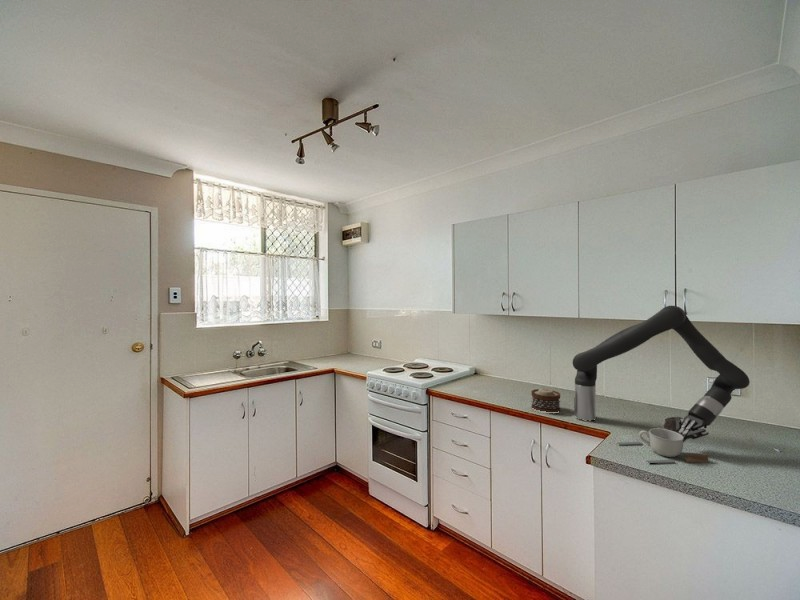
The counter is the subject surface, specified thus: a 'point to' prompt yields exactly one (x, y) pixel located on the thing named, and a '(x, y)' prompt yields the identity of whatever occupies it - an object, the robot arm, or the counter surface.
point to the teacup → (664, 441)
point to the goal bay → (651, 460)
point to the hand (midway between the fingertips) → (677, 442)
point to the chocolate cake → (545, 400)
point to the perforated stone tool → (671, 424)
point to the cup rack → (696, 458)
